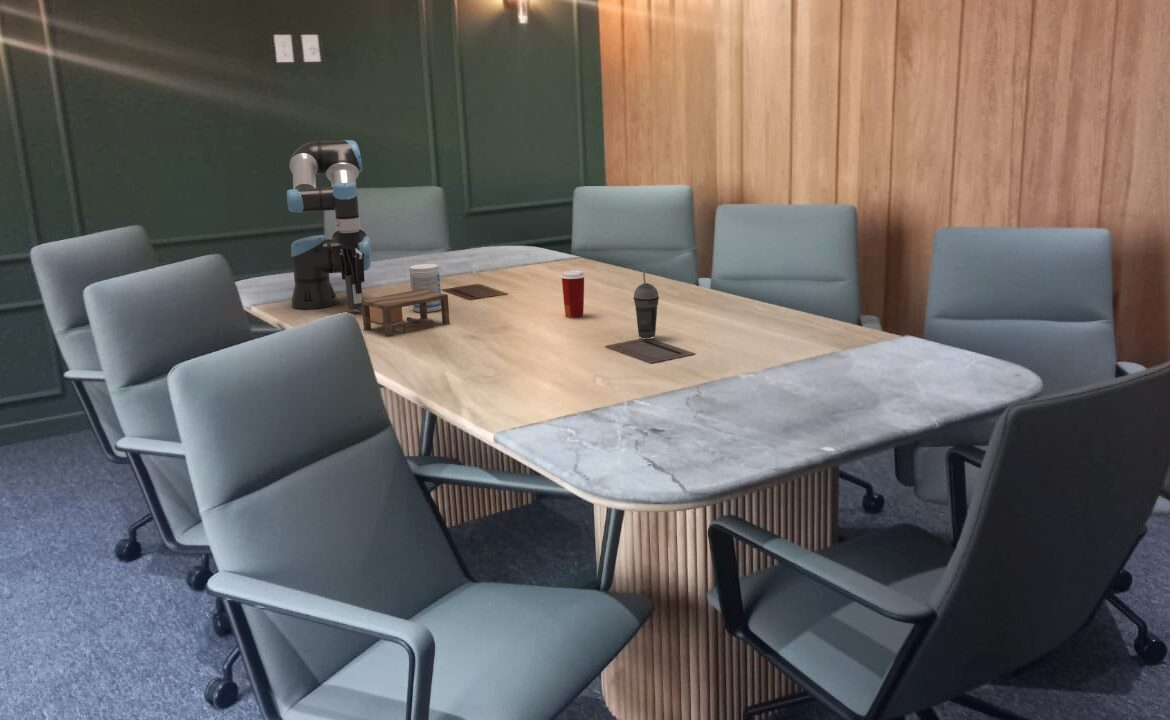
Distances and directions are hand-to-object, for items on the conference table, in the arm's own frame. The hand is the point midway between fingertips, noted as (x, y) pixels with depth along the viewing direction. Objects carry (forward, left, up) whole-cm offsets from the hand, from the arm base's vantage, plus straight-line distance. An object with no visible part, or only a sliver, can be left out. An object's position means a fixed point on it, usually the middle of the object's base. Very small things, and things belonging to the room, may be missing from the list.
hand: (355, 302), depth 333 cm
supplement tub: (+15, +18, -4) cm, 24 cm away
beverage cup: (+97, +38, -4) cm, 104 cm away
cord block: (+11, 0, -3) cm, 11 cm away
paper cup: (+60, +43, -4) cm, 74 cm away
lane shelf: (+31, 0, -4) cm, 31 cm away
